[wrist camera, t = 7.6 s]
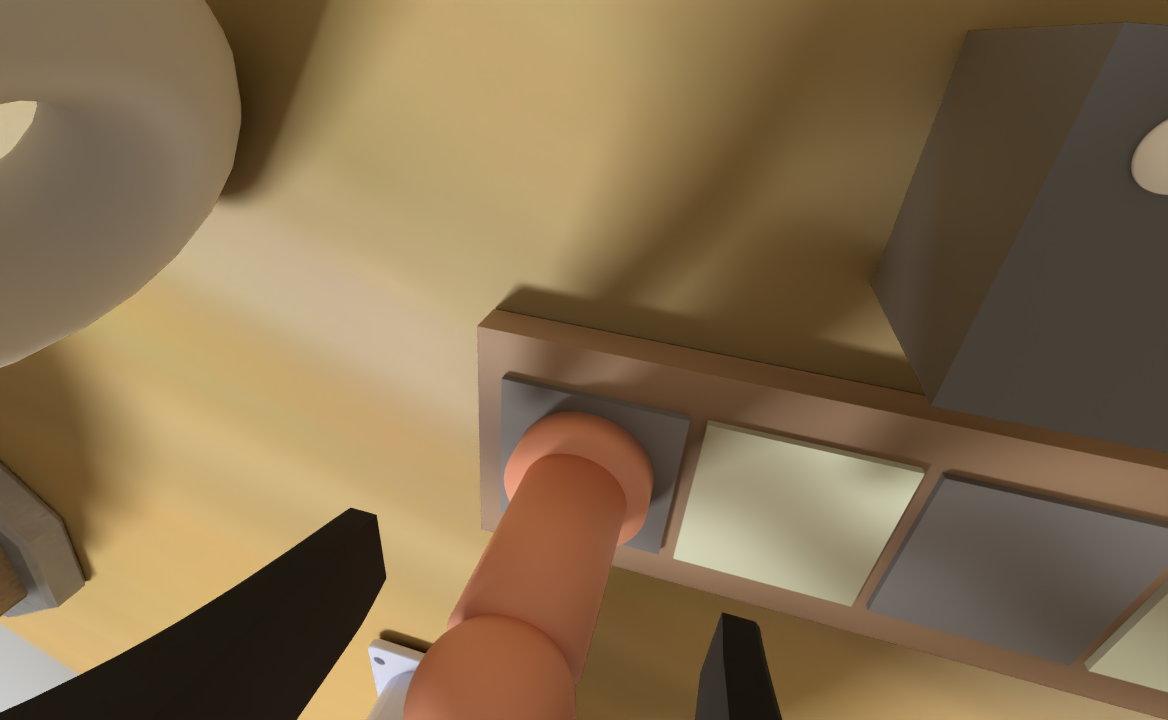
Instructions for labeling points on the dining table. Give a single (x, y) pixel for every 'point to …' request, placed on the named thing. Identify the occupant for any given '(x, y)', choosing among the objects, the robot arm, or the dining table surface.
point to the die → (1042, 234)
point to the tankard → (33, 552)
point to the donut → (106, 154)
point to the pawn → (538, 577)
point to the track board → (863, 505)
